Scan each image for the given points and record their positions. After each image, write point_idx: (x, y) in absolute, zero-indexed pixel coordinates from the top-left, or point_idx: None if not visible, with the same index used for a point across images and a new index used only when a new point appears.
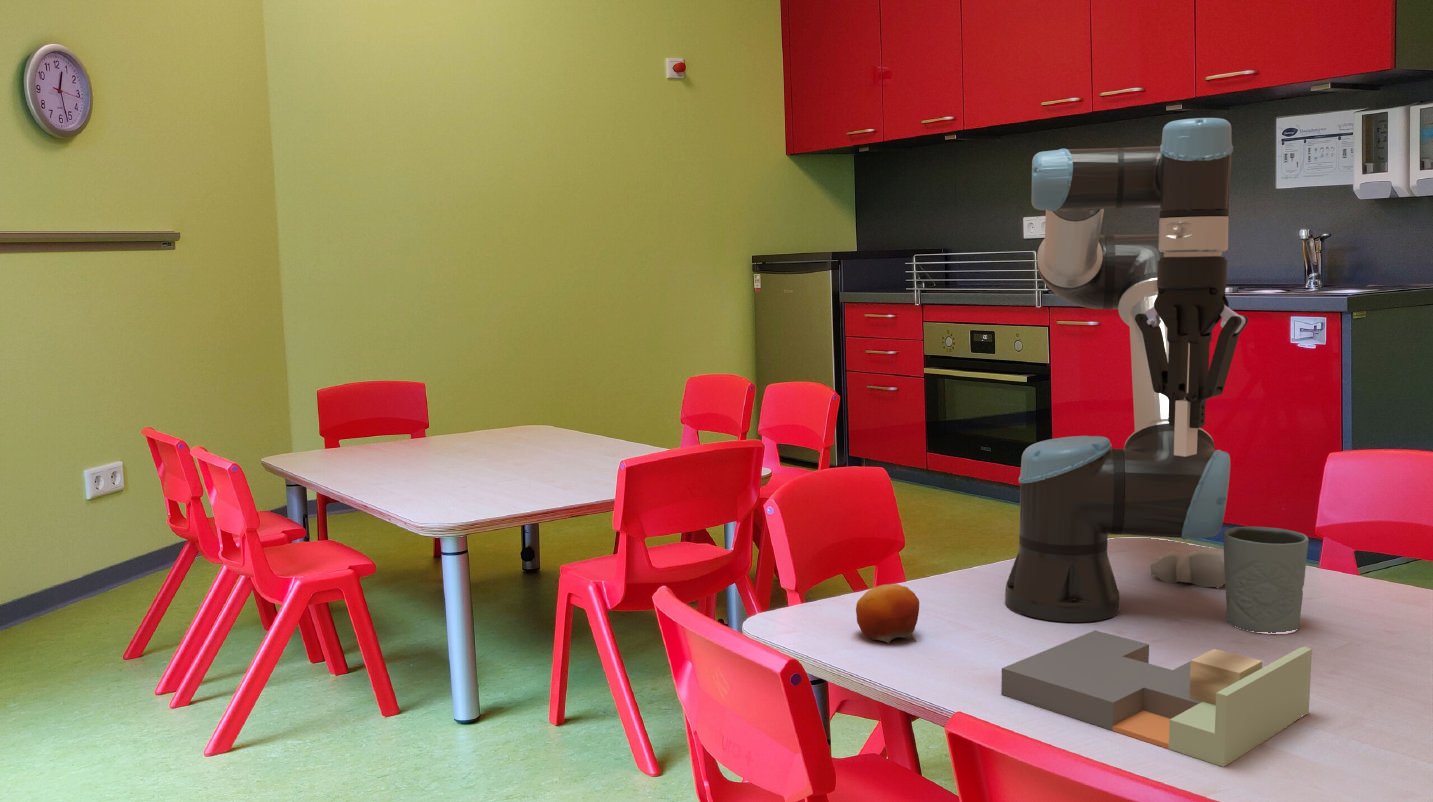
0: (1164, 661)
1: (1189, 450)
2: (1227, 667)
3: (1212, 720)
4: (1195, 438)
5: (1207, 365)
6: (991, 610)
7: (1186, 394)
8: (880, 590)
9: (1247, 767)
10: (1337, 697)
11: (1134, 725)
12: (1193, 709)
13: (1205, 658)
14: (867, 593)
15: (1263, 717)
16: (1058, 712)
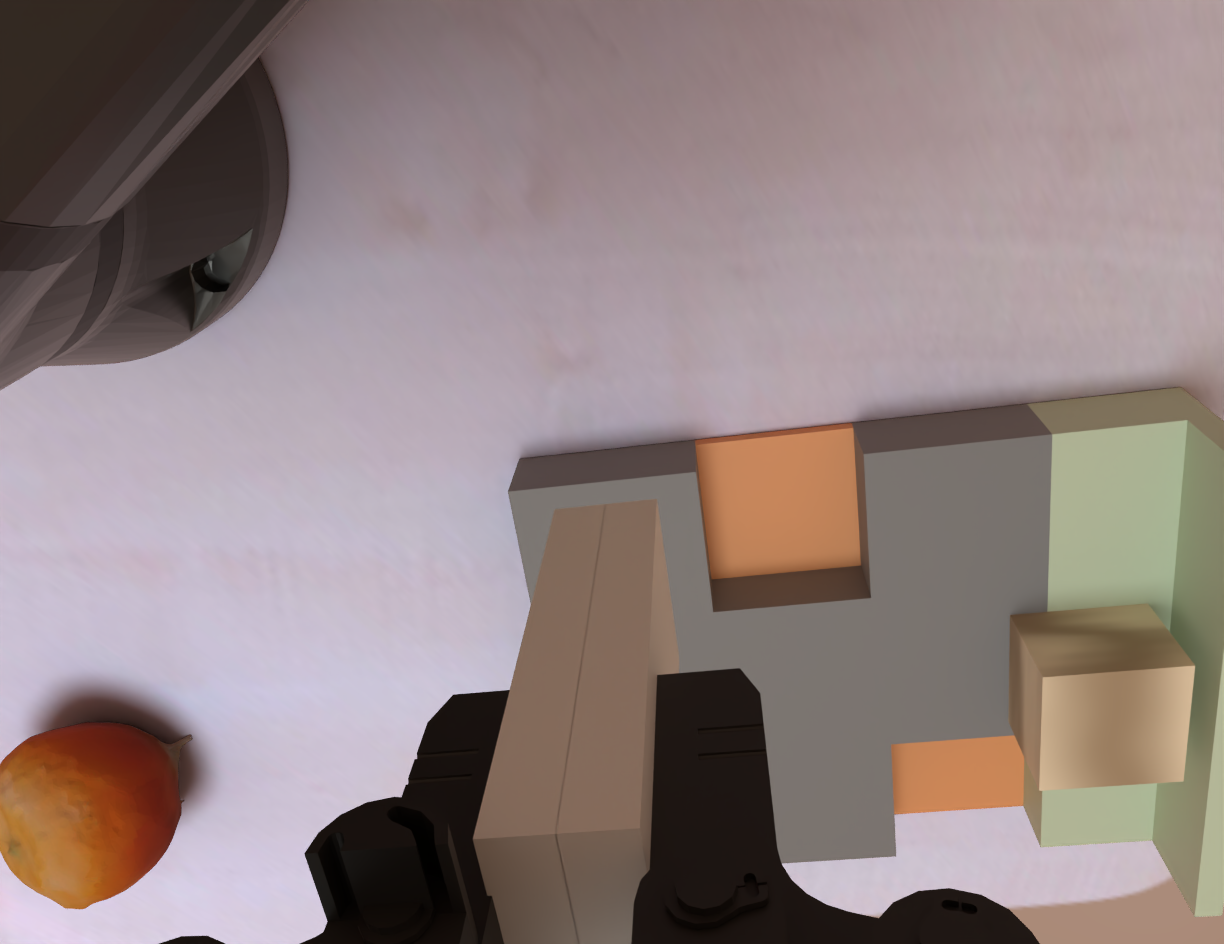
0: (682, 346)
1: (671, 630)
2: (1139, 769)
3: (1116, 790)
4: (659, 597)
5: None
6: (26, 382)
7: (466, 898)
8: (70, 897)
9: None
10: (1202, 200)
11: (917, 783)
12: None
13: (1062, 755)
14: (44, 895)
15: None
16: None
